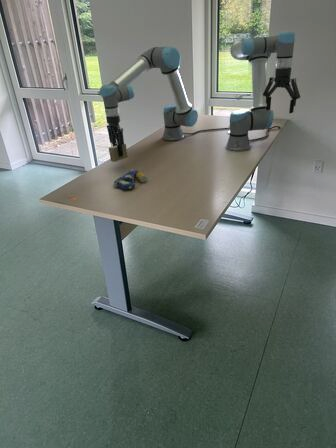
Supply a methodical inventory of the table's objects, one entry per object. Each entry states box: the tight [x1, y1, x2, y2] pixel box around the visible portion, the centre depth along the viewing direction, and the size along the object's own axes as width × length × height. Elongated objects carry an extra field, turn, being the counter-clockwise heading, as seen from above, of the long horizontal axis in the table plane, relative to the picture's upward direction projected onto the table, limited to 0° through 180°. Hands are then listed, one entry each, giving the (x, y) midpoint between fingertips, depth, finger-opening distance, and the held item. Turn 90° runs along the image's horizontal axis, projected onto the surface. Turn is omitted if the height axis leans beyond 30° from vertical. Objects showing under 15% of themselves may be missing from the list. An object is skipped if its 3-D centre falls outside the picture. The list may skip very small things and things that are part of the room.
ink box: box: [108, 143, 129, 163], centre depth 198 cm, size 10×4×8 cm, turn 131°
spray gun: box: [112, 168, 148, 191], centre depth 183 cm, size 21×4×15 cm
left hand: (118, 155), depth 199 cm, fingers closed on ink box, 4 cm apart
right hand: (279, 111), depth 176 cm, fingers open, 13 cm apart
